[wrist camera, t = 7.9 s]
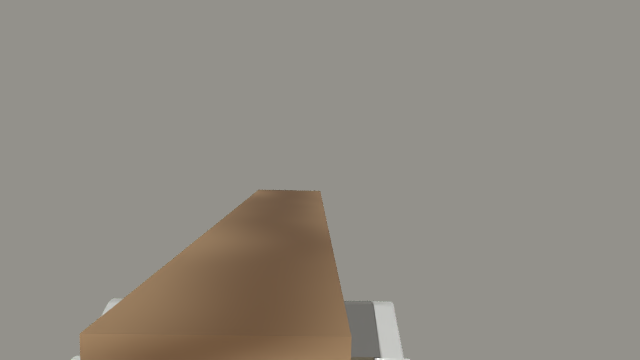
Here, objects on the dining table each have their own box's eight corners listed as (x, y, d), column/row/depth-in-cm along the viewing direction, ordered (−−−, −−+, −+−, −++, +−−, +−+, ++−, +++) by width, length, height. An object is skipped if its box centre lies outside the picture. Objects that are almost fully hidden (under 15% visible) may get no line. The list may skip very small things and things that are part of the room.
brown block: (84, 586, 7) (80, 333, 6) (258, 250, 29) (258, 189, 28) (345, 586, 7) (351, 337, 6) (318, 251, 29) (320, 191, 28)
